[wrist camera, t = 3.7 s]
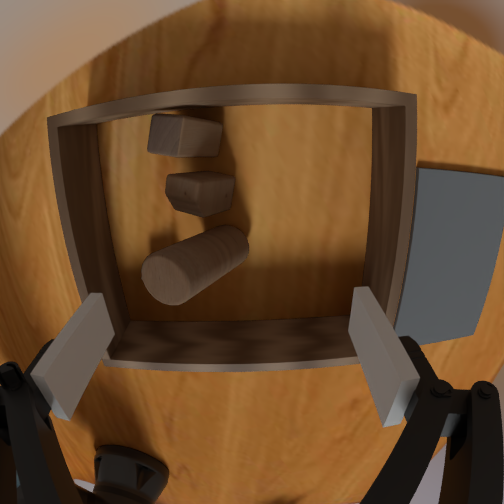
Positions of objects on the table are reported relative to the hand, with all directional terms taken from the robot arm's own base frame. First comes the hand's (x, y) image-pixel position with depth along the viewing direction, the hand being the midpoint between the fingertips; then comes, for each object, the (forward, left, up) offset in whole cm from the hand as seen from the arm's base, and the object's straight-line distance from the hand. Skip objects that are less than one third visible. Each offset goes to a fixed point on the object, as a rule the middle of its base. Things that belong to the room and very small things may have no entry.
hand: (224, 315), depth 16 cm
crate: (0, 0, -15) cm, 15 cm away
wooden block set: (-3, +1, -16) cm, 16 cm away
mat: (+25, -6, -15) cm, 30 cm away
